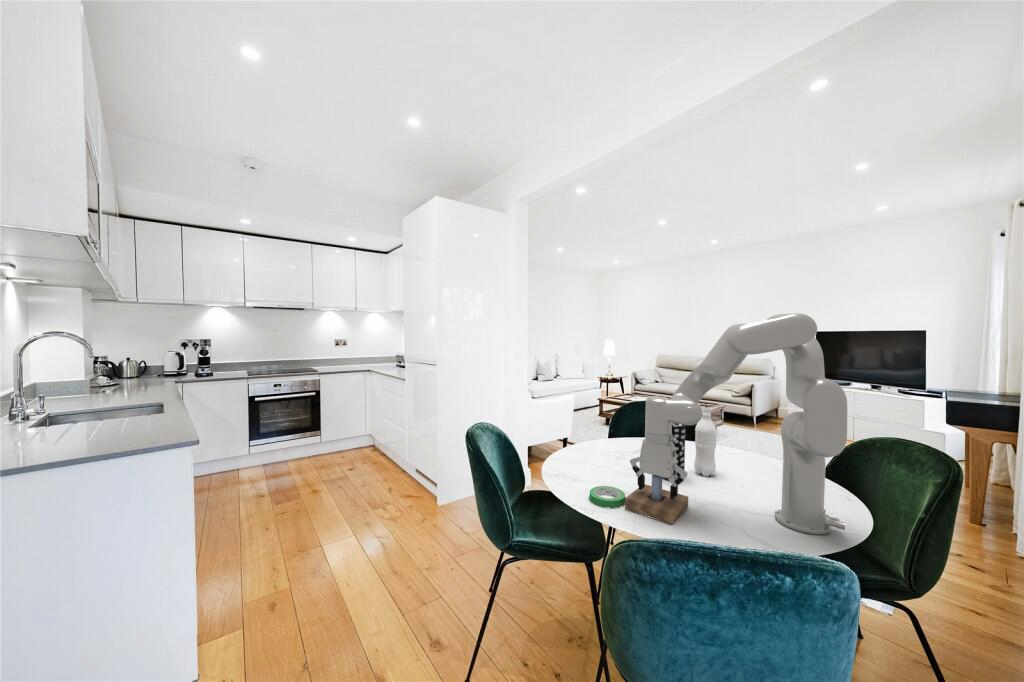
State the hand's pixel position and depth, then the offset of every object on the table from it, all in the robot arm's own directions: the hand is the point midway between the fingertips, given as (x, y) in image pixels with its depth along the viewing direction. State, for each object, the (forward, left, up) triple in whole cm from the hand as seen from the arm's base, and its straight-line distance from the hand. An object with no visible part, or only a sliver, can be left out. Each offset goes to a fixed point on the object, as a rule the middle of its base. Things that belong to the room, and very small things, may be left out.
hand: (656, 493), depth 116 cm
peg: (0, 0, -5) cm, 5 cm away
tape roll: (+14, +5, -5) cm, 16 cm away
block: (0, 0, -5) cm, 5 cm away
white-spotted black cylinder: (+5, -28, -5) cm, 29 cm away
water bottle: (-3, -40, -5) cm, 40 cm away
